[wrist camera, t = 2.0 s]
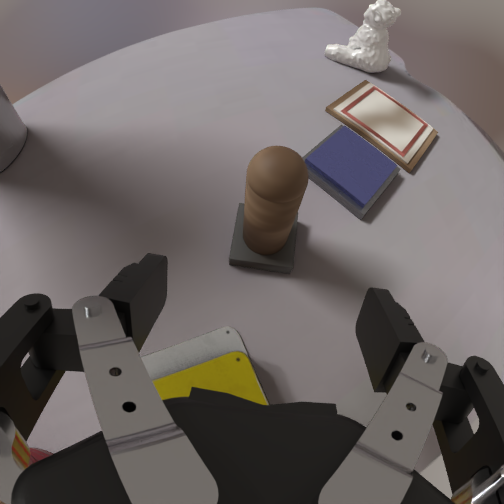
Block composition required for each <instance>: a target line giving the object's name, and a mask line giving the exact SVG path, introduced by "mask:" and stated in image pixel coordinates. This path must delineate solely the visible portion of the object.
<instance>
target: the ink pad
mask: <svg viewBox="0 0 504 504" xmlns="http://www.w3.org/2000/svg"><path fill="white" fill-rule="evenodd" d="M302 159H303V160H304V162H305V164H306V166H307V169H308V178H309V179H310V180H312V181H313V182H314V183H316V184H317V185H318V186H319V187H321V188H322V189H323V190H324V191H326V192H327V193H328V194H330V195H331V196H332V197H333V198H334V199H336V200H337V201H338V202H339V203H341V204H342V205H343V206H344V207H345V208H347V209H348V210H349V211H350V212H351V213H353V214H354V215H355V216H356V217H357V218H359V219H360V220H361V219H362V217H363V216H364V215H365V214H366V213H367V211H368V210H369V209H370V208H371V206H372V205H373V204H374V203H375V202H376V200H377V199H378V198H379V197H380V195H381V194H382V193H383V192H384V190H385V189H386V188H387V187H388V185H389V184H390V183H391V181H392V180H393V179H394V178H395V176H396V175H397V174H398V172H399V171H400V168H398V167H397V165H396V164H395V163H394V162H392V161H391V160H390V159H389V158H387V157H386V156H385V155H384V154H382V153H381V152H380V151H378V150H377V149H376V148H375V147H373V146H372V145H371V144H369V143H368V142H367V141H365V140H364V139H363V138H361V137H360V136H358V135H357V134H356V133H354V132H353V131H351V130H350V129H349V128H347V127H346V126H343V125H341V126H339V127H338V128H337V129H336V130H335V131H333V132H332V133H331V134H330V135H329V136H327V137H326V138H325V139H324V140H323V141H321V142H320V143H319V144H318V145H317V146H315V147H314V148H313V149H312V150H311V151H310V152H308V153H307V154H306V155H305V156H304V157H303V158H302Z"/></svg>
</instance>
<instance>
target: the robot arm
mask: <svg viewBox="0 0 504 504" xmlns="http://www.w3.org/2000/svg"><path fill="white" fill-rule="evenodd" d="M26 137H27V128H26V127H25V125H24V123H23V122H22V120H21V119H20V117H19V115H18V114H17V112H16V110H15V109H14V107H13V105H12V104H11V102H10V100H9V99H8V97H7V95H6V93H5V92H4V90H3V88H2V87H1V85H0V172H1V171H3V170H4V169H5V168H6V167H7V166H8V165H9V164H10V163H11V162H12V161H13V160H14V159H15V158H16V156H17V155H18V154H19V152H20V151H21V149H22V147H23V145H24V143H25V141H26ZM167 265H168V261H167V257H166V256H163V255H157V254H151V253H148V254H147V255H146V256H145V257H144V258H143V259H142V260H141V261H140V262H139V264H137V263H133V264H131V265H128V266H126V267H124V268H123V269H122V270H121V271H120V272H119V273H118V276H116V277H115V278H114V279H113V281H111V282H110V283H109V284H108V286H107V287H106V288H105V289H104V290H103V291H102V292H101V293H100V295H99V296H89V297H85V298H82V299H80V300H78V301H77V302H76V303H75V304H74V305H73V307H72V309H53V308H52V304H51V300H50V298H49V297H48V296H46V295H43V294H29V295H26V296H24V297H22V298H20V299H19V300H18V301H17V302H16V303H15V304H14V305H13V306H12V307H11V308H10V309H9V310H8V311H7V312H6V313H5V314H4V315H3V316H2V317H1V318H0V504H504V384H503V383H502V381H501V379H500V378H499V376H498V374H497V373H496V371H495V369H494V368H493V366H492V365H491V364H490V363H489V362H488V361H486V360H485V359H483V358H480V357H477V356H471V357H469V358H467V360H466V362H465V363H464V365H463V366H459V365H455V364H451V363H448V359H447V356H446V354H445V353H444V352H443V351H442V350H441V349H440V348H438V347H437V346H435V345H433V344H430V343H425V342H424V340H423V338H422V337H421V335H420V333H419V331H418V330H417V328H416V326H414V323H413V321H412V320H411V319H410V316H409V315H408V313H407V311H406V310H405V309H404V308H403V307H402V306H401V305H399V304H398V303H396V302H395V301H394V299H393V297H392V295H391V294H390V292H389V291H388V290H386V289H379V288H369V289H368V291H367V293H366V296H365V299H364V302H363V305H362V308H361V310H360V313H359V316H358V319H357V322H356V336H357V339H358V342H359V345H360V348H361V351H362V354H363V357H364V360H365V364H366V367H367V370H368V373H369V376H370V380H371V383H372V386H373V390H374V392H386V393H387V396H386V398H385V399H384V401H383V403H382V404H381V406H380V407H379V409H378V411H377V412H376V414H375V415H374V417H373V419H372V420H371V422H370V423H369V425H368V426H367V428H366V427H364V426H363V425H362V424H360V423H358V422H356V421H355V420H352V419H350V418H348V417H345V416H342V415H338V414H337V410H336V404H330V403H313V402H295V403H286V404H276V405H262V404H259V403H256V402H253V401H250V400H247V399H244V398H241V397H238V396H235V395H232V394H229V393H225V392H219V391H213V390H208V389H202V388H197V387H192V388H191V391H190V395H189V397H175V398H169V399H165V400H162V399H161V397H160V395H159V393H158V391H157V390H156V388H155V386H154V384H153V382H152V380H151V378H150V376H149V374H148V372H147V370H146V367H145V365H144V363H143V361H142V359H141V357H140V355H139V352H140V350H141V348H142V346H143V344H144V342H145V340H146V338H147V336H148V335H149V333H150V331H151V329H152V327H153V325H154V323H155V322H156V320H157V318H158V316H159V314H160V312H161V311H162V309H163V307H164V305H165V301H166V297H167ZM28 352H29V355H30V356H29V358H28V359H27V360H26V362H25V363H24V364H23V366H22V367H21V362H22V360H23V358H24V357H25V355H26V354H27V353H28ZM65 371H80V372H85V376H86V379H87V383H88V387H89V390H90V394H91V397H92V401H93V404H94V407H95V411H96V414H97V417H98V420H99V423H100V426H101V429H102V431H100V432H98V433H96V434H94V435H92V436H90V437H88V438H86V439H84V440H82V441H80V442H78V443H76V444H74V445H72V446H70V447H68V448H66V449H63V450H61V451H59V452H57V453H55V454H53V455H50V456H48V457H46V458H44V459H42V460H39V461H37V462H35V463H33V464H31V465H30V466H29V465H28V463H29V459H30V449H29V446H28V444H27V442H26V441H27V439H28V437H29V435H30V434H31V432H32V430H33V428H34V426H35V424H36V422H37V420H38V418H39V417H40V415H41V413H42V411H43V409H44V407H45V406H46V404H47V402H48V400H49V399H50V397H51V395H52V393H53V392H54V390H55V388H56V386H57V385H58V383H59V381H60V380H61V378H62V376H63V375H64V373H65ZM473 408H475V411H476V413H477V415H478V417H479V428H478V430H477V432H476V433H475V434H473V431H472V429H471V426H470V423H469V421H468V419H467V416H468V415H469V413H470V412H471V411H472V409H473ZM432 424H433V427H434V430H435V433H436V436H437V439H438V443H439V446H440V449H441V453H442V456H443V460H444V463H445V467H446V471H447V475H448V478H449V482H450V486H451V490H452V494H453V495H452V498H451V500H450V499H449V498H448V497H447V496H445V495H444V494H443V493H442V492H441V491H439V490H438V489H437V488H436V487H434V486H433V485H432V484H431V483H430V482H428V481H427V480H426V479H425V478H424V477H422V476H421V475H420V474H419V473H418V472H417V471H415V470H414V467H415V465H416V462H417V460H418V458H419V456H420V453H421V451H422V449H423V446H424V444H425V442H426V439H427V437H428V434H429V432H430V429H431V426H432Z"/></svg>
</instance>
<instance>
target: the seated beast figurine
mask: <svg viewBox="0 0 504 504" xmlns="http://www.w3.org/2000/svg"><path fill="white" fill-rule="evenodd" d="M400 15H401V10H400V9H398V8H394V6H392V5H391V4H390V2H388V1H386V0H378V1H376V3H375V4H371V5H369V8H368V10H367V11H366V12H365V13H364V17H365V20H364V21H363V25H362V26H360V28H359V29H358V30H357V32H356V34H355V35H354V36H352V37H351V38H350V39H349V43H348V45H347V46H345V45H339V44H335V45H327V47H326V50H325V56H326V57H327V58H329V59H331V60H333V61H337V62H339V63H342V64H345V65H348V66H351V67H354V68H358V69H360V70H363V71H365V72H368V73H375V72H381V71H384V70H386V69H387V67H388V64H389V62H390V61H391V59H390V58H391V56H390V54H389V51H388V44H387V43H388V41H389V39H388V38H389V35H388V31H387V29H386V28H388V27H390V26H391V25H393V24H394V23H395V21H396V18H397V17H399V16H400Z"/></svg>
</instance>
